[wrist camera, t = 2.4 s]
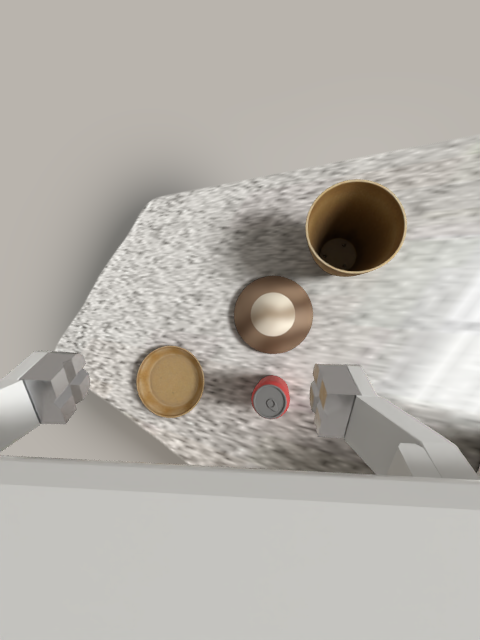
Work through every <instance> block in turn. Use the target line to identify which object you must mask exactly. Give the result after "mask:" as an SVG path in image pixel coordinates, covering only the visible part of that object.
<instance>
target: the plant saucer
mask: <svg viewBox="0 0 480 640" xmlns="http://www.w3.org/2000/svg"><path fill="white" fill-rule="evenodd" d="M136 385H137V391H138V395H139V397H140V399H141V401H142V403H143V404H144V405H145V407H146V408H147V409H148V410H150V411H151V412H152V413H154V414H156V415H158V416H161V417H166V418H175V417H179V416H182V415H185V414H186V413H188V412H189V411H191V410H192V409H193V408H194V407H195V406H196V405H197V403H198V402H199V400H200V398H201V396H202V393H203V389H204V374H203V370H202V367H201V365H200V363H199V362H198V360H197V359H196V357H195V356H194V355H193V354H192V353H190V352H189V351H187V350H186V349H184V348H181V347H178V346H163V347H160V348H157V349H155V350H154V351H152V352H151V353H149V354H148V355H147V356H146V357H145V359H144V360H143V361H142V363H141V365H140V367H139V369H138V373H137V378H136Z"/></svg>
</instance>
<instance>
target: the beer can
mask: <svg viewBox="0 0 480 640" xmlns="http://www.w3.org/2000/svg"><path fill="white" fill-rule="evenodd" d="M251 401H252V406H253V408H254V410H255V411H256V412H257V413H258V414H259V415H260V416H262V417H264V418H267V419H275V418H278V417H280V416H282V415H283V414H284V413H285V412H286V411H287V409H288V407H289V402H290V397H289V390H288V386H287V384H286V383H285V381H284V380H283V379H282V378H280V377H278V376H273V375H271V376H266V377H264V378H262V379H261V380H260V381H259V383H258V384H257V385H256V387H255V388H254V390H253V392H252V397H251Z"/></svg>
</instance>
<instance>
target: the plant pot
mask: <svg viewBox="0 0 480 640" xmlns="http://www.w3.org/2000/svg"><path fill="white" fill-rule="evenodd" d="M406 230H407V219H406V214H405V211H404V208H403V206H402V204H401V202H400V201H399V199H398V198H397V197H396V195H395V194H394V193H393V192H392V191H390V190H389V189H388V188H386V187H385V186H383V185H381V184H379V183H376V182H373V181H369V180H360V179H354V180H347V181H343V182H340V183H337V184H335V185H333V186H331V187H329V188H328V189H326V190H325V191H324V192H322V193H321V194H320V195H319V196H318V197H317V198H316V200H315V201H314V203H313V204H312V206H311V208H310V210H309V212H308V215H307V219H306V237H307V242H308V246H309V249H310V252H311V254H312V257H313V258H314V260H315V262H316V263H317V264H318V265H319V267H321V268H322V269H323V270H324V271H326V272H327V273H329V274H332V275H336V276H343V277H348V276H356V275H360V274H364V273H367V272H370V271H373V270H375V269H378V268H380V267H382V266H383V265H385V264H386V263H388V262H389V261H390V260H391V259H392V258H393V257H394V256H395V255H396V254H397V253H398V251H399V250H400V248H401V246H402V244H403V242H404V239H405V236H406ZM343 244H344V246H343ZM324 256H327V257H324ZM344 265H345V267H344Z"/></svg>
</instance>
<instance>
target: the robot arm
mask: <svg viewBox="0 0 480 640" xmlns="http://www.w3.org/2000/svg"><path fill="white" fill-rule="evenodd" d="M85 364H86V363H85V359H84V356H83V355H82V354H80V353H69V352H54V351H52V352H51V351H35V352H33V353H32V354H31V355H29V356H28V357H27V358H26V359H25V360H24V361H22V362H21V363H20V364H19V365H18V366H16V367H15V368H14V369H13V370H12V371H10V372H9V373H8V374H7V375H6V376H5V377H3V378H2V379H0V452H1V451H3V450H4V449H6V448H7V447H9V446H10V445H12V444H13V443H14V442H16V441H17V440H19V439H20V438H22V437H23V436H25V435H26V434H28V433H29V432H30V431H32V430H33V429H35V428H36V427H38V426H39V425H40V424H66V423H67V422H68V420H69V419H70V418H71V416H72V415H73V414H74V412H75V411H76V404H77V403H79V402H80V401H82V400H84V398H85V397H86V395H87V393H88V391H89V387H90V378H89V374H88V373H87V372H86V371H85V370H84V369H83V367H84V365H85ZM313 376H314V381H313V382H312V383H311V387H310V405H311V410H312V411H313V412H314V413H315V418H314V422H315V426H316V430H317V434H318V437H330V438H343V439H344V440H345V441H346V442H347V443H348V445H349V446H350V447H351V448H352V449H353V450H354V451H355V452H356V453H357V454H358V455H359V456H360V458H361V459H362V460H363V461H364V462H365V463H366V464H367V465H368V466H369V467H370V468H371V470H372V471H373V472H374V473H375V474H376V475H373V474H354V473H334V472H315V471H296V470H276V469H257V468H238V467H218V466H199V465H179V464H161V463H142V462H123V461H102V460H82V459H63V458H42V457H23V456H4V455H3V456H2V455H0V640H480V466H479V470H478V471H477V473H476V472H475V471H474V469H473V468H472V467H471V465H470V464H469V463H468V461H467V460H466V458H465V457H464V456H463V454H462V453H461V451H460V450H459V449H458V447H457V446H456V445H455V444H454V443H452V442H451V441H449V440H448V439H446V438H445V437H443V436H442V435H440V434H439V433H437V432H436V431H434V430H433V429H431V428H430V427H428V426H426V425H425V424H423V423H422V422H420V421H419V420H417V419H416V418H414V417H413V416H411V415H410V414H408V413H407V412H405V411H404V410H402V409H401V408H399V407H398V406H396V405H395V404H393V403H392V402H390V401H389V400H387V399H386V398H384V397H379V396H378V395H377V393H376V391H375V390H374V388H373V386H372V384H371V382H370V380H369V379H368V377H367V375H366V373H365V371H364V370H363V368H362V366H361V365H350V364H345V365H335V364H315V366H314V370H313Z"/></svg>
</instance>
